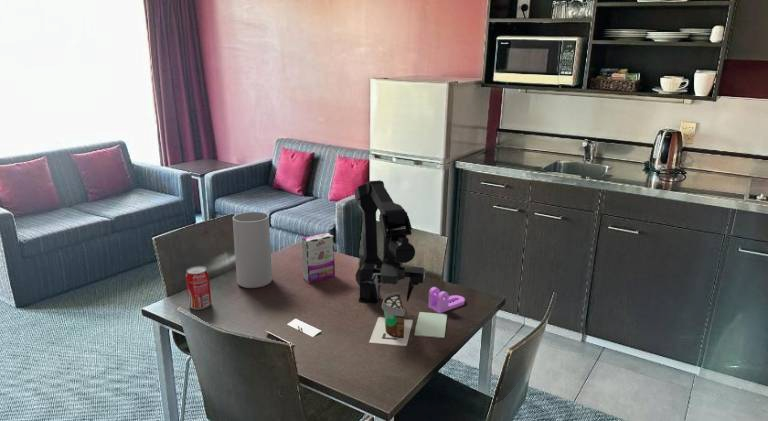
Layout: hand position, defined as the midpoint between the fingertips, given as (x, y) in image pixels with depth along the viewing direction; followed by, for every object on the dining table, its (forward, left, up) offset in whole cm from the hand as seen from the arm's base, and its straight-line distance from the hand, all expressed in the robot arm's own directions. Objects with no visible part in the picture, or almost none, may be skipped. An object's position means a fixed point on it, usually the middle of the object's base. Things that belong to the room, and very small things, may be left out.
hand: (392, 299), depth 163 cm
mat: (+12, +6, -10) cm, 17 cm away
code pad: (0, 0, -10) cm, 10 cm away
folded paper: (-29, -7, -11) cm, 32 cm away
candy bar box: (-33, +35, -11) cm, 49 cm away
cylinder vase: (-55, +27, -11) cm, 62 cm away
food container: (0, 0, -10) cm, 11 cm away
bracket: (+16, +21, -11) cm, 28 cm away
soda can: (-65, +5, -11) cm, 66 cm away
